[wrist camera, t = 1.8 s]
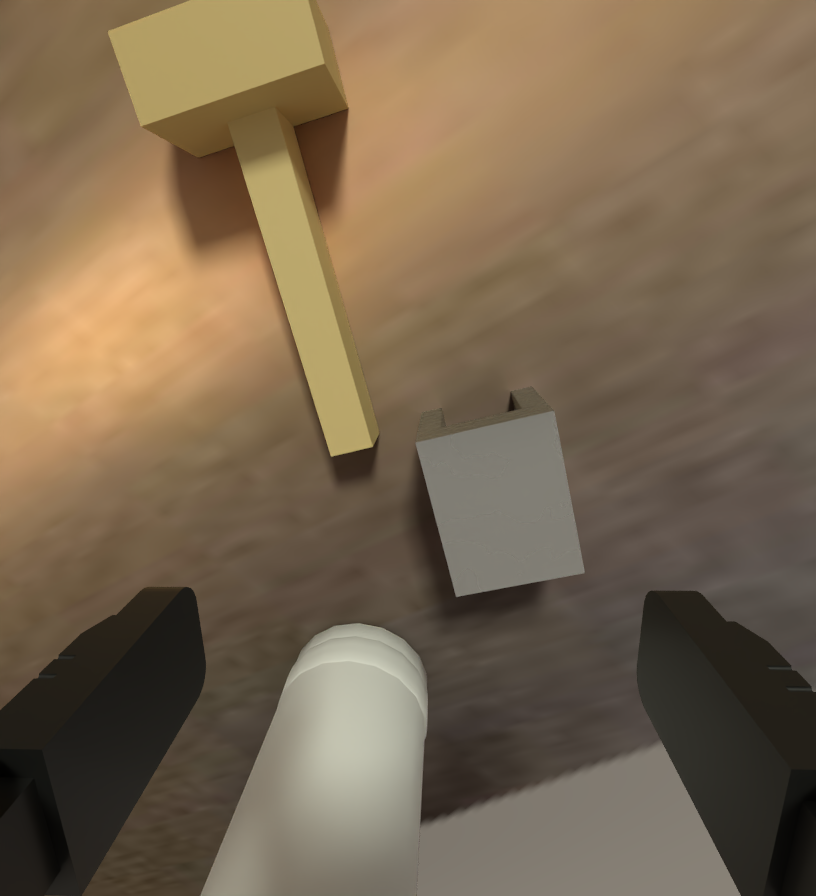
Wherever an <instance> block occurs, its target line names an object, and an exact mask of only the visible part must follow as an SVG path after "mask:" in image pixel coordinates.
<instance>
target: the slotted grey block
mask: <svg viewBox="0 0 816 896" xmlns="http://www.w3.org/2000/svg"><path fill="white" fill-rule="evenodd" d="M511 395H512V399H513V404H514V409H515V410H514V411H510V412H505V413H501V414H497V415H492V416H488V417H484V418H480V419H475V420H471V421H467V422H462V423H458V424H454V425H450V426H446V423H445V419H444V415H443V411H442V408H439V409H435V410H430V411H426V412H422V414H421V419H420V424H419V428H418V433H417V438H416V442H415V443H416V447H417V451H418V454H419V458H420V462H421V466H422V470H423V473H424V477H425V481H426V485H427V489H428V492H429V496H430V500H431V504H432V507H433V511H434V515H435V519H436V523H437V526H438V530H439V534H440V538H441V542H442V545H443V549H444V553H445V557H446V560H447V564H448V568H449V572H450V576H451V579H452V583H453V587H454V591H455V595H456V597H459V596H464V595H469V594H475V593H480V592H485V591H491V590H496V589H502V588H507V587H512V586H518V585H523V584H528V583H534V582H539V581H544V580H550V579H555V578H560V577H566V576H571V575H577V574H582V573H585V572H584V566H583V561H582V556H581V550H580V545H579V540H578V534H577V529H576V524H575V519H574V513H573V508H572V503H571V497H570V492H569V487H568V481H567V476H566V471H565V465H564V460H563V455H562V450H561V444H560V439H559V434H558V428H557V423H556V418H555V412H554V410H553V409H552V408H551V407H550V406H549V405H548V403H547V402H546V401H545V400H544V399H543V398H542V397H541V396H540V395H539V394H538V393H537V392H536V391H535V389H534V388H533V387H532V386H531V387H527V388H523V389H518V390H514V391H511Z"/></svg>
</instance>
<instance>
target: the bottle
mask: <svg viewBox="0 0 816 896" xmlns="http://www.w3.org/2000/svg"><path fill="white" fill-rule="evenodd" d="M277 707H278V708H277V710H276V713H275V715H274V718H273V720H272V722H271V725H270V727H269V730H268V732H267V735H266V737H265V739H264V742H263V744H262V747H261V749H260V752H259V754H258V757H257V759H256V761H255V764H254V766H253V769H252V771H251V774H250V776H249V778H248V781H247V783H246V786H245V788H244V791H243V793H242V796H241V798H240V800H239V803H238V805H237V808H236V810H235V813H234V815H233V817H232V820H231V822H230V825H229V827H228V830H227V832H226V835H225V837H224V839H223V842H222V844H221V847H220V849H219V852H218V854H217V856H216V859H215V861H214V864H213V866H212V869H211V871H210V874H209V876H208V878H207V881H206V883H205V886H204V888H203V891H202V893H201V895H200V896H417V876H418V857H419V837H420V818H421V798H422V779H423V759H424V740H425V738H426V733H427V716H428V692H427V674H426V671H425V669H424V667H423V664H422V662H421V659H420V657H419V655H418V654H417V653H416V652H415V651H414V650H413V649H412V648H411V647H410V646H409V645H408V643H407V642H406V641H405V640H404V639H402V638H400V637H398V636H397V635H395V634H393V633H391V632H389V631H387V630H385V629H384V628H380V627H375V626H370V625H365V624H360V623H357V624H347V625H338V626H334V627H332V628H330V629H327V630H325V631H323V632H321V633H319V634H317V635H315V636H314V637H313V638H312V639H311V640H310V641H309V642H308V643H307V644H306V646H305V647H304V648H303V649H302V650H301V652H300V654H299V657H298V659H297V662H296V663H295V664H294V665H293V667H292V669H291V671H290V673H289V676H288V678H287V681H286V684H285V686H284V689H283V692H282V695H281V697H280V700H279V703H278V706H277Z"/></svg>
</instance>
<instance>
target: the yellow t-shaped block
mask: <svg viewBox="0 0 816 896" xmlns="http://www.w3.org/2000/svg"><path fill="white" fill-rule="evenodd" d="M108 34H109V37H110V39H111V42H112V45H113V48H114V51H115V54H116V57H117V59H118V62H119V65H120V68H121V71H122V74H123V77H124V79H125V82H126V85H127V88H128V91H129V94H130V97H131V99H132V102H133V105H134V108H135V111H136V114H137V117H138V119H139V122H140V125H141V127H143V128H145V129H147V130H148V131H150V132H152V133H154V134H156V135H158V136H159V137H161V138H163V139H165V140H167V141H168V142H170V143H172V144H174V145H176V146H178V147H179V148H181V149H183V150H185V151H187V152H188V153H190V154H192V155H194V156H196V157H198V158H199V157H202V156H205V155H208V154H211V153H214V152H217V151H220V150H223V149H226V148H230V147H233V146H235V149H236V152H237V156H238V159H239V162H240V165H241V168H242V172H243V175H244V178H245V181H246V185H247V188H248V191H249V194H250V197H251V201H252V204H253V207H254V210H255V214H256V217H257V220H258V223H259V226H260V230H261V233H262V236H263V239H264V242H265V246H266V249H267V252H268V255H269V259H270V262H271V265H272V268H273V271H274V275H275V278H276V281H277V284H278V288H279V291H280V294H281V297H282V300H283V304H284V307H285V310H286V313H287V317H288V320H289V323H290V326H291V329H292V333H293V336H294V339H295V342H296V345H297V349H298V352H299V355H300V358H301V362H302V365H303V368H304V371H305V374H306V378H307V381H308V384H309V387H310V391H311V394H312V397H313V400H314V403H315V407H316V410H317V413H318V416H319V419H320V423H321V426H322V429H323V432H324V436H325V439H326V442H327V445H328V448H329V452H330V455H331V457H332V456H336V455H340V454H345V453H349V452H353V451H357V450H362V449H366V448H370V447H373V445H374V443H375V441H376V439H377V437H378V435H379V429H378V425H377V422H376V418H375V415H374V411H373V408H372V404H371V401H370V397H369V393H368V390H367V386H366V383H365V379H364V376H363V372H362V369H361V365H360V362H359V358H358V354H357V351H356V347H355V344H354V340H353V337H352V333H351V330H350V326H349V322H348V319H347V315H346V312H345V308H344V305H343V301H342V298H341V294H340V290H339V287H338V283H337V280H336V276H335V273H334V269H333V266H332V262H331V259H330V255H329V251H328V248H327V244H326V241H325V237H324V234H323V230H322V227H321V223H320V219H319V216H318V212H317V209H316V205H315V202H314V198H313V195H312V191H311V187H310V184H309V180H308V177H307V173H306V170H305V166H304V163H303V159H302V156H301V152H300V148H299V145H298V141H297V138H296V134H295V131H294V126H297V125H300V124H303V123H306V122H309V121H312V120H315V119H318V118H321V117H324V116H327V115H330V114H333V113H336V112H339V111H342V110H345V109H348V104H347V100H346V96H345V93H344V89H343V85H342V81H341V77H340V73H339V69H338V65H337V61H336V57H335V53H334V49H333V45H332V41H331V38H330V34H329V30H328V27H327V24H326V22H325V20H324V18H323V15H322V13H321V11H320V9H319V6H318V4H317V2H316V0H190V1H187V2H185V3H182V4H179V5H177V6H174V7H171V8H169V9H166V10H163V11H161V12H158V13H155V14H153V15H150V16H147V17H145V18H142V19H139V20H137V21H134V22H131V23H129V24H126V25H123V26H121V27H118V28H115V29H113V30H110V31H108Z"/></svg>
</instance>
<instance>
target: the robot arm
mask: <svg viewBox="0 0 816 896" xmlns="http://www.w3.org/2000/svg"><path fill="white" fill-rule="evenodd" d="M205 672H206V660H205V653H204V646H203V640H202V633H201V627H200V620H199V613H198V607H197V600H196V596H195V593H194V592H193V590H192V589H191V588H189V587H146V588H144V589H142V590H141V591H140V592H139V593H138V594H137V595H136V596H135V597H134V598H133V599H132V600H131V601H130V602H129V603H128V604H127V605H126V606H125V607H124V608H123V609H122V610H121V611H120V612H119V613H118V614H117V615H112V616H110V617H108V618H107V619H105V620H103V621H102V622H100V623H98V624H97V625H95V626H93V627H91V628H90V629H88V630H86V631H85V632H83V633H81V634H80V635H79V636H78V637H77V638H76V639H75V640H74V641H73V642H72V643H71V644H70V645H69V646H68V647H67V648H66V649H65V650H64V651H62V652H61V653H60V654H59V658H58V659H54V660H53V661H52V662H51V663H50V664H49V665H48V666H47V667H46V668H45V669H43V670H42V671H41V672H40V673H39V677H38V679H33V680H32V681H31V682H30V683H29V684H28V685H27V686H26V687H24V688H23V689H22V690H21V691H20V692H19V693H18V694H17V695H16V696H15V697H14V698H13V699H12V700H11V701H10V702H9V703H8V704H7V705H5V706H4V707H3V708H2V709H1V710H0V896H44V895H60V896H82V894H83V892H84V891H85V889H86V887H87V886H88V884H89V882H90V881H91V879H92V877H93V875H94V874H95V872H96V870H97V869H98V867H99V865H100V864H101V862H102V860H103V859H104V857H105V855H106V853H107V852H108V850H109V848H110V847H111V845H112V843H113V842H114V840H115V838H116V837H117V835H118V833H119V831H120V830H121V828H122V826H123V825H124V823H125V821H126V820H127V818H128V816H129V815H130V813H131V811H132V810H133V808H134V806H135V804H136V803H137V801H138V799H139V798H140V796H141V794H142V793H143V791H144V789H145V788H146V786H147V784H148V782H149V781H150V779H151V777H152V776H153V774H154V772H155V771H156V769H157V767H158V766H159V764H160V762H161V760H162V759H163V757H164V755H165V754H166V752H167V750H168V749H169V747H170V745H171V744H172V742H173V740H174V738H175V737H176V735H177V733H178V732H179V730H180V728H181V727H182V725H183V723H184V722H185V720H186V718H187V716H188V715H189V713H190V711H191V710H192V708H193V706H194V705H195V703H196V701H197V699H198V698H199V695H200V693H201V690H202V687H203V684H204V679H205ZM637 683H638V689H639V693H640V697H641V700H642V703H643V706H644V708H645V710H646V712H647V714H648V716H649V718H650V720H651V722H652V724H653V726H654V727H655V729H656V731H657V733H658V735H659V737H660V739H661V741H662V743H663V745H664V747H665V749H666V751H667V752H668V754H669V757H670V759H671V760H672V762H673V764H674V766H675V768H676V770H677V772H678V774H679V776H680V778H681V780H682V782H683V784H684V786H685V787H686V790H687V791H688V793H689V795H690V797H691V799H692V801H693V803H694V805H695V807H696V809H697V811H698V813H699V815H700V817H701V819H702V820H703V823H704V825H705V827H706V828H707V830H708V832H709V834H710V836H711V838H712V840H713V842H714V844H715V846H716V848H717V850H718V852H719V854H720V856H721V858H722V859H723V861H724V863H725V865H726V867H727V869H728V871H729V873H730V875H731V877H732V879H733V881H734V883H735V885H736V887H737V889H738V891H739V892H740V894H741V896H816V692H813V691H812V688H811V686H810V685H809V683H808V682H807V681H806V680H805V679H804V678H803V677H802V676H801V675H800V674H799V673H798V672H797V671H792V669H791V665H790V664H789V663H788V662H787V661H786V660H785V659H784V658H783V657H782V656H781V655H780V654H779V653H778V652H777V651H776V650H775V649H774V648H773V647H772V646H771V644H770V643H769V642H767V641H766V640H764V639H763V638H761V637H759V636H758V635H756V634H755V633H753V632H751V631H750V630H748V629H746V628H745V627H743V626H742V625H740V624H738V623H737V622H726V620H725V619H724V618H723V617H722V616H721V615H720V614H719V613H718V612H717V611H716V609H715V608H714V607H713V606H712V605H711V604H710V603H709V602H708V601H707V600H706V598H705V597H704V596H703V595H702V594H701V593H699V592H697V591H650V592H648V594H647V595H646V598H645V601H644V608H643V617H642V626H641V635H640V643H639V652H638V661H637Z"/></svg>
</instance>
